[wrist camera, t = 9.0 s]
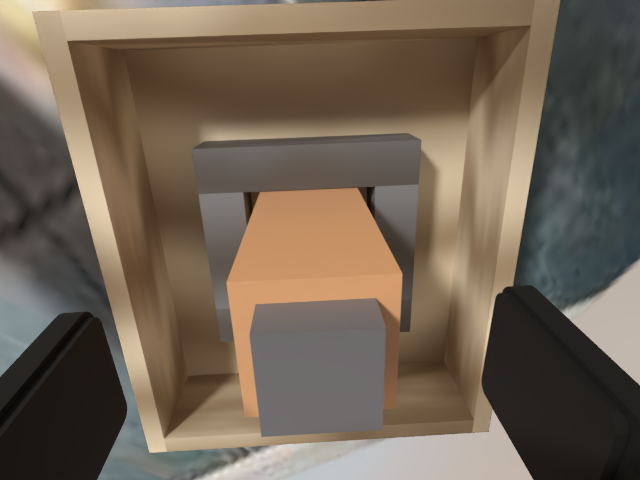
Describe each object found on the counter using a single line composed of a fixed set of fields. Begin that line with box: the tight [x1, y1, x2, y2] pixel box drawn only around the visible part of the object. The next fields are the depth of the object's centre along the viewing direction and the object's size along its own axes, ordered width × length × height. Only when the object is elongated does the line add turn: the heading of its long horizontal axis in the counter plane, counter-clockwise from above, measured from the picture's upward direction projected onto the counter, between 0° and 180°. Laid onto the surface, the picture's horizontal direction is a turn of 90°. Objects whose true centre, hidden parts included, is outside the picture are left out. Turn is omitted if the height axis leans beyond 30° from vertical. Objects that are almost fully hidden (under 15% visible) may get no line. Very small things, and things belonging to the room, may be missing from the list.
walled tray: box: [32, 0, 560, 453], centre depth 18 cm, size 18×16×5 cm
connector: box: [226, 187, 403, 437], centre depth 14 cm, size 4×4×11 cm
